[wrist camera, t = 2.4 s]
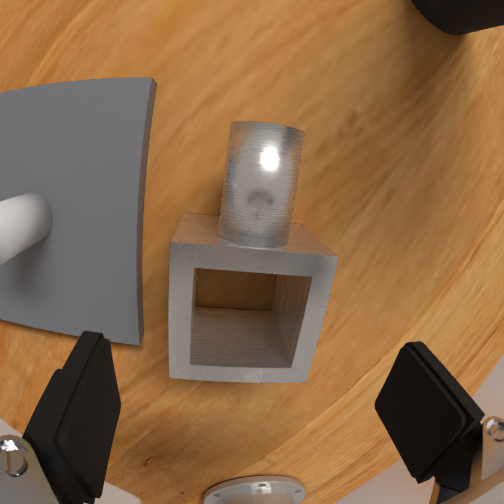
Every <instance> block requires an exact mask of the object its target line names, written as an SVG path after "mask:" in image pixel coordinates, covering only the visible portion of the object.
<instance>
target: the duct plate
mask: <svg viewBox="0 0 504 504" xmlns="http://www.w3.org/2000/svg"><path fill="white" fill-rule="evenodd" d="M156 86H157V83H156V82H155V81H154V80H153V78H107V79H91V80H79V81H69V82H60V83H52V84H45V85H38V86H32V87H26V88H21V89H16V90H11V91H6V92H1V93H0V319H2V320H6V321H10V322H13V323H18V324H22V325H26V326H30V327H35V328H39V329H44V330H48V331H53V332H58V333H63V334H68V335H74V336H79V337H80V336H81V334H82V333H83V331H85V330H86V331H92V332H99V333H103V335H104V338H106V339H109V341H110V342H117V343H124V344H131V345H139V346H140V343H141V340H142V337H143V334H144V328H143V302H142V235H143V210H144V193H145V179H146V166H147V156H148V146H149V137H150V128H151V121H152V113H153V106H154V99H155V93H156Z"/></svg>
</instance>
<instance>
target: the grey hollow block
mask: <svg viewBox="0 0 504 504" xmlns="http://www.w3.org/2000/svg"><path fill="white" fill-rule="evenodd" d="M303 138H304V131H302V130H299V129H296V128H292V127H288V126H283V125H278V124H271V123H264V122H253V121H234V122H231V126H230V133H229V141H228V149H227V157H226V165H225V173H224V182H223V191H222V200H221V209H220V216H215V215H204V214H193V213H185V214H184V216H183V218H182V220H181V222H180V224H179V226H178V228H177V230H176V232H175V234H174V236H173V238H172V240H171V243H170V266H169V315H168V329H169V377H170V378H176V379H188V380H202V381H219V382H249V383H286V382H306V380H307V376H308V373H309V370H310V366H311V363H312V359H313V356H314V352H315V349H316V345H317V342H318V338H319V334H320V331H321V327H322V323H323V319H324V315H325V312H326V308H327V304H328V300H329V295H330V291H331V287H332V283H333V278H334V274H335V270H336V265H337V261H338V256H337V255H336V254H335V253H334V252H333V251H332V250H331V249H329V248H328V247H327V246H326V245H325V244H324V243H323V242H321V241H320V240H319V239H318V238H317V237H316V236H315V235H313V234H312V233H311V232H310V231H309V230H308V229H306V228H305V227H304V226H303V225H302V224H294V223H291V220H292V214H293V207H294V201H295V194H296V187H297V181H298V174H299V167H300V160H301V152H302V145H303ZM198 268H205V269H217V270H229V271H242V272H255V273H269V274H278V275H277V281H276V286H275V292H274V298H273V304H272V310H271V311H257V310H239V309H224V308H210V307H197V306H195V301H196V284H197V269H198Z"/></svg>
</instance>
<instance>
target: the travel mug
mask: <svg viewBox="0 0 504 504" xmlns="http://www.w3.org/2000/svg"><path fill="white" fill-rule="evenodd" d="M412 1H413V3H414V4H415V6H416V7H417V8H418V10H419V11H420V12H421V13H422V14H423V15H424V16H425V17H426V18H427V19H428V20H429V21H430V22H431V23H432V24H433V25H435V26H436V27H437V28H439V29H441V30H442V31H444V32H446V33H449V34H453V35H462V34H467V33H471V32H475V31H479V30H483V29H488V28H492V27H497V26H502V25H504V0H412Z"/></svg>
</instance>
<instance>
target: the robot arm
mask: <svg viewBox="0 0 504 504" xmlns="http://www.w3.org/2000/svg"><path fill="white" fill-rule="evenodd" d="M120 409H121V401H120V396H119V391H118V386H117V381H116V376H115V370H114V364H113V358H112V352H111V346H110V341H109V339H106V338H104V335H103V333H99V332H92V331H86V330H85V331H83V333H82V334H81V336H80V338H79V339H78V341H77V343H76V345H75V346H74V348H73V350H72V352H71V354H70V355H69V357H68V359H67V361H66V363H65V365H64V366H63V368H62V369H57V370H56V371H55V372H54V374H53V376H52V377H51V379H50V381H49V383H48V385H47V387H46V389H45V391H44V393H43V395H42V397H41V399H40V400H39V402H38V405H37V407H36V409H35V411H34V413H33V415H32V417H31V419H30V421H29V423H28V425H27V428H26V430H25V432H24V434H23V436H22V438H20V437H18V436H14V435H3V436H1V437H0V504H83V503H88V504H94V502H95V498H100V497H101V495H102V490H103V485H104V480H105V475H106V470H107V465H108V460H109V456H110V451H111V447H112V442H113V438H114V434H115V430H116V426H117V422H118V418H119V414H120ZM375 409H376V412H377V413H378V415H379V417H380V419H381V421H382V422H383V424H384V426H385V428H386V430H387V431H388V433H389V435H390V437H391V439H392V441H393V443H394V444H395V446H396V448H397V450H398V452H399V454H400V456H401V457H402V459H403V461H404V463H405V465H406V467H407V469H408V471H409V472H410V474H411V476H412V477H413V478H416V480H417V482H418V484H419V483H422V482H424V481H427V480H429V479H430V478H431V477H432V476H434V477H435V482H434V487H433V490H432V494H431V499H430V502H429V504H504V420H503V419H502V418H499V417H495V416H492V417H488V418H487V419H486V420H485V421H484V422H483V424H482V425H481V423H480V421H481V420H482V418H483V417H484V415H485V414H484V413H483V411H482V410H481V409H480V408H479V407H478V405H477V404H476V403H475V402H474V400H473V399H472V398H471V397H470V396H469V394H468V393H467V392H466V391H465V390H464V388H463V387H462V386H461V385H460V384H459V383H458V381H457V380H456V379H455V378H454V377H453V376H452V374H451V373H450V372H449V371H448V370H447V369H446V368H445V366H444V365H443V364H442V363H441V362H440V361H439V360H438V359H437V357H436V356H435V355H434V354H433V353H432V352H431V351H430V350H429V349H428V347H427V346H426V345H425V344H424V343H423V342H420V341H417V342H408V343H406V344H405V345H404V346H403V347H402V348H401V349H400V351H399V353H398V356H397V358H396V360H395V362H394V365H393V367H392V369H391V371H390V373H389V375H388V377H387V379H386V381H385V383H384V385H383V387H382V389H381V391H380V393H379V395H378V397H377V399H376V401H375ZM305 495H306V491H305V487H304V485H303V484H302V483H301V482H300V481H298V480H296V479H294V478H290V477H285V476H272V475H267V476H251V477H244V478H238V479H234V480H229V481H226V482H223V483H220V484H218V485H216V486H213V487H212V488H210V489H209V490H207V492H206V493H205V494H204V497H203V501H204V504H299V503H300V502H301V501H302V500H303V499H304V498H305Z"/></svg>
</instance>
